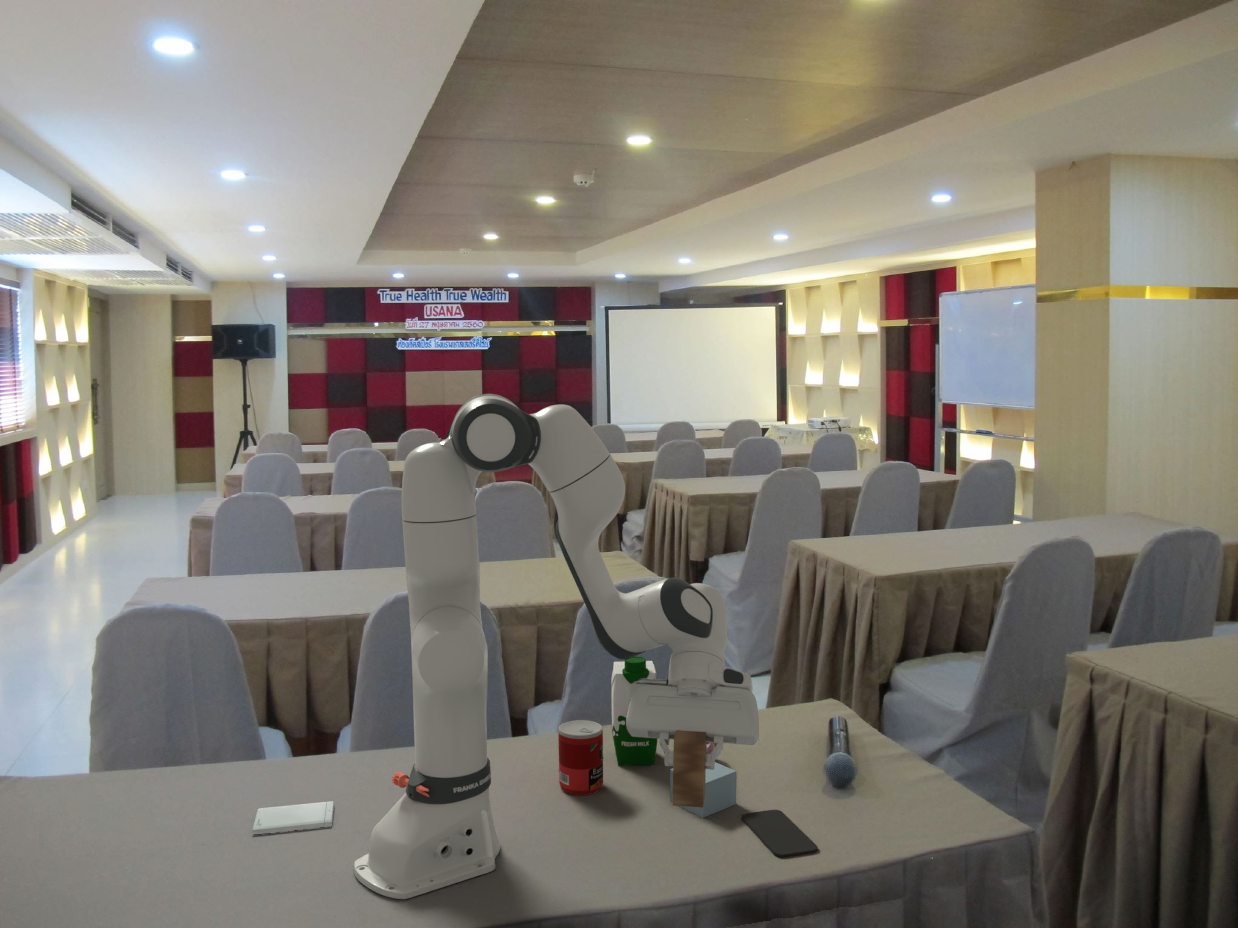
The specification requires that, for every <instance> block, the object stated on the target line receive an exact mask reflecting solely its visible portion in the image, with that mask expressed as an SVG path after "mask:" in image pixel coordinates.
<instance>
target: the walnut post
mask: <svg viewBox="0 0 1238 928" xmlns="http://www.w3.org/2000/svg"><path fill="white" fill-rule="evenodd" d="M706 736H707V735H706V732H695V731H681V730H676V733H675V737H674V740H673V751H674V757H673V767H672V768H673V803H672V806H678V807H680V806H689V807H702V808H703V805H704V798H705V778H706V769H705V754H706Z"/></svg>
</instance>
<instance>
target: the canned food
mask: <svg viewBox="0 0 1238 928" xmlns="http://www.w3.org/2000/svg"><path fill="white" fill-rule="evenodd" d="M603 733H604V730H603V726H602V724H600V723H599V722H596V721H593V720H587V719H577V720H575V719H574V720H569V721H566V722H563V723H561V724H560V725H559V726H558V738H557V739H558V740H557V741H558V775H559V776H558V783H559V786H560V789H561V790H562V791H563V792H565V793H568V794H570V795H575V796H576V795H577V796H587V795H592V794H595V793H597V792H599V791H600V790H601V789H602V787H603V784H604V735H603Z"/></svg>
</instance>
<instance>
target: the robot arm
mask: <svg viewBox="0 0 1238 928" xmlns="http://www.w3.org/2000/svg"><path fill="white" fill-rule="evenodd" d="M407 454H408V455H406V457H405V460H404V464H403V473H402V480H401V481H402V482H401V518H402V520H401V523H402V533H403V534H402V535H403V548H404V549H403V550H404V562H405V563H404V565H405V574H406V575H405V576H406V585H407V586H406V587H407V597H408V599H407V601H408V612H409V624H410V641H411V642H410V645H411V670H412V673H411V674H412V677H411V678H412V698H413V700H412V703H413V704H412V705H413V707H412V708H413V732H414V733H413V734H414V736H413V740H414V764H413V766H412V769H411V771H410V774H409V775H408V774H404V773H403V772H401V771H396V772H395V773H394V774H393V776H392V780H391V781H392V784H393V785H395V786H398V787H399V788H400V789H401V788H402V789H404V788H405V793H404V794H403V795H402V796H401V797H400V798H399V800H397V802H396V803H395V804H394V805H393V806H392V807H391V809H390V810H389V811H388V812H387V813H386V814H385V815H384V816H383V817H382V818H381V820H379V822H378V823H377V824H376V825H375V826H374V827H373V829H372V832H371V834H370V839H369V846H368V853H366V854H364V855H362V856H361V857H359V858H358V859H355V860H354V863H353V875H354V876H355V878H356V879H357V880H358V882H360V883H361V885H364V886H365V887H366V888H368V889H370V890H371V891H373V892H374V893H377V894H379V895H381V896H384V897H388V898H391V899H398V900H407V899H410V898H414V897H417V896H420V895H422V894H426V893H429V892H432V891H435V890H438V889H442V888H444V887H447V886H451V885H454V884H456V883H460V882H462V881H466V880H469V879H472V878H476V877H478V876H481V875H485V874H488V873H491V872H492V871H494V870H495V869H496V857H497V856H498V855H499V852H500V850H501V843H500V840H499V838H498V834H497V831H496V827H495V822H494V817H493V812H492V807H491V798H490V785H491V784H492V772H491V769H492V768H491V760H490V758H489V757H488V737H487V736H488V732H487V728H488V727H487V703H488V702H487V701H488V669H489V667H488V666H489V665H488V664H489V662H488V660H489V659H488V656H489V655H488V653H489V652H488V650H489V649H488V644H487V640H486V636H485V633H484V627H483V623H482V611H481V589H480V587H481V586H480V585H481V583H480V575H481V574H480V573H481V572H480V571H481V569H480V565H481V564H480V551H479V536H478V533H479V532H478V523H477V522H478V519H477V507H476V485H477V480H478V477H479V476H480V474H481V473H482V472H483V473H498V472H503V471H506V470H510V469H514V468H517V467H520V466H525V465H529V466H530V467H531V468H532V469H533V471H534V472H535V473H536V474H537V475H538V477H539V478H540V481H541V482H542V483H543V486H544V487H545V488H546V490H547V492H548V493H549V495H550V496H551V498H552V500H553V503H554V506H555V508H556V512H557V518H558V519H557V522H556V524H555V533H556V534H555V535H556V539H557V541H558V545H559V547H560V550H561V553H562V555H563V558H564V561H565V562H566V565H567V567H568V569H569V570H570V573H571V575H572V578H573V580H574V582H575V584H576V587H577V589H578V591H579V593H580V596H581V598H582V601H583V602H584V605H585V607H586V610H587V611H588V614H589V617H590V620H591V625H592V629H593V632H594V635H595V638H596V641H597V642H598V644H599V645H600V647H601V648H602V649H603V650H604V651H605V652H607V653H608V654H609V655H610V656H613V657H615V658H616V659H618V660H623V661H625V660H626V659H630V658H632V657H638V656H639V655H641V654H643V653H646V652H647V651H649V650H653V649H656V648H659V647H662V646H665V645H666V646H667V647H669V648H670V649H671V650H672V653H671V655H670V659H669V665H668V676H667V679H661V678H657V679H647V678H641V679H639V680H638V681H635V682H633V683H632V684H631V685H630V687H629V693H628V699H629V702H630V705H629V709H628V713H627V718H626V727H627V730H628V732H629V733H630V735H631V736H633V737H645V738H658V740H659V746H660V747H661V749H662V750H661V751H662V752H663V754H664V767H672V768H673V757H674V750H673V751H671V750H670V748H669V746H670V740H673V741H674V737H675V733H676V730H681V731H695V732H706V735H707V736H706V742H714V749H713V751H712V752H711V754H705V769H711V770H714V769H715V762H716V760H717V759H718V758H719V756H720V754H721V753H722V752H723V750H724V744H729V745H730V744H731V745H732V744H733V745H746V746H754V745H755V744H756V743H757V742H759V740H760V718H759V717H760V715H759V708H758V703H757V702H758V701H757V699H756V696H755V695H754V693H753V680H752V677H751V675H750V674H748V673H746V672H745V671H744V672H743V671H741V670H738V669H736V668H733V667H729V666H727V665H726V661H725V660H726V659H725V657H724V654H725V653H724V652H725V649H726V646H727V641H728V613H727V607H726V602H725V599H724V596H723V594H722V593H721V592H720V591H719V590H718V589H717V588H715V587H713V586H711V585H709V584H706V583H702V582H700V583H699V582H695V583H694V582H693V583H689V582H687V581H686V580H684V579H682V578H680V577H676V576H675V577H674V576H673V577H668V578H664V579H661V580H658V581H655V582H652V583H650V584H648V585H645V586H644V587H641V588H638V589H636V590H635V589H634V590H633V591H630V592H627V593H624V592H621V591H620V590H618V588H616V586H615V584H614V581H613V580H612V576H611V575H610V573H609V570H608V568H607V566H606V563H605V561H604V559H603V557H602V554H601V551H600V547H599V539H600V536H601V534H602V532H603V531H604V530H605V529H606V528H607V527H608V525H610V523H611V522H612V521H613V519H615V517H616V516H617V514H618V513H619V511H620V509H621V507H622V506H623V503H624V499H625V496H626V495H625V494H626V483H625V479H624V476H623V474H622V472H621V470H620V468H619V466H618V464H617V463H616V461H615V459H614V457H612V454H610V451H609V450H608V449H607V447H606V445H605V444H604V442H603V441H602V440H601V438H600V436H599V435H598V434H597V432H596V431H595V430H594V428H593V427H592V426H591V425H590V424H589V423H588V421H587V420H586V418H584V417H583V416H582V415H581V414H580V413H579V412H578V410H576V409H575V408H574V407H572V406H571V405H568V404H563V403H562V404H554V405H553V404H552V405H549V406H547V407H544V408H542V409H540V410H539V411H537V412H534V413H530V414H529V413H528V412H526V411H523V410H522V409H520V408H519V407H518V406H517V405H516V404H515V403H514V402H513V401H511V400H510V399H508V398H506V397H505V396H502V395H499V394H494V393H482V394H478V395H475V396H473V397H471V398H470V399H468V400H467V401H466V402H464V403H463V404H462V406H460V407H459V409H458V410H457V412H456V414H455V416H454V418H453V420H452V423H451V425H450V427H449V428H448V431H447V433H446V435H445V437H444V440H442V441H436V442H428V443H424V444H422V445H421V444H420V445H419V446H417V447H415V448H413V450H411V451H410V452H409V453H407ZM637 683H639V684H637Z"/></svg>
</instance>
